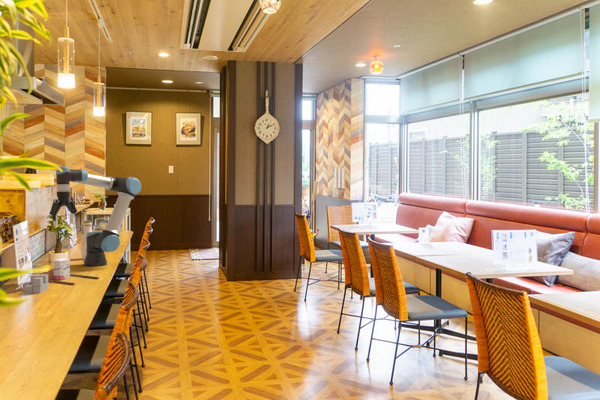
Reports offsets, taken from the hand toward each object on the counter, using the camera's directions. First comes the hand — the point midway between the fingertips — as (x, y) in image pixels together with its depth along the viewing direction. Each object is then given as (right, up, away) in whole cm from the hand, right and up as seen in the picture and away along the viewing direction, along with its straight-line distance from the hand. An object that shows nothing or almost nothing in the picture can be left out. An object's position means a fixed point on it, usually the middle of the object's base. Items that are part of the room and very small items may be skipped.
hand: (63, 224), depth 332 cm
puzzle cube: (+4, -34, -47) cm, 58 cm away
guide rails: (+12, -32, -18) cm, 38 cm away
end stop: (+1, -31, -13) cm, 34 cm away
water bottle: (-8, -28, +56) cm, 63 cm away
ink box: (+6, -32, -15) cm, 36 cm away
